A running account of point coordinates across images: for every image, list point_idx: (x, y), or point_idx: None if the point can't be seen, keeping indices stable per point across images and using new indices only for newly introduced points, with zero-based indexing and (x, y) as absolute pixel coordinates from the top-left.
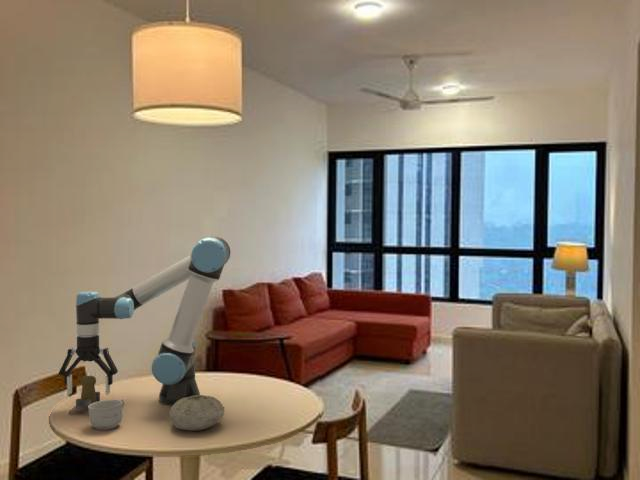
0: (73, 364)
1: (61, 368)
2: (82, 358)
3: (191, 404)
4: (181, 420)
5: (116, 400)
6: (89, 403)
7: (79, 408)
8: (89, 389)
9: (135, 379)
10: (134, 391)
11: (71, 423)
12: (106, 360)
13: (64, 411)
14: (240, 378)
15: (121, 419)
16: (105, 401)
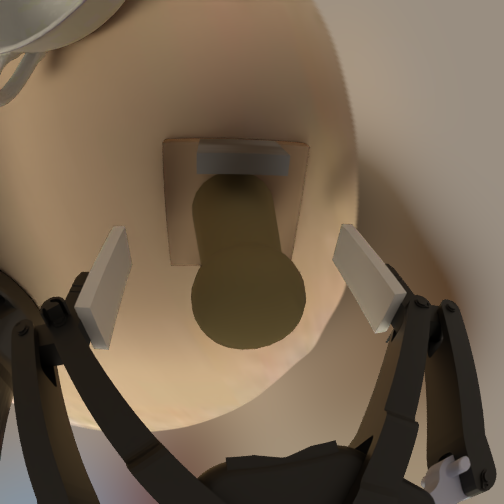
0: (412, 384)
1: (463, 333)
2: (350, 470)
3: None
4: None
5: None
6: (202, 147)
7: (258, 142)
8: (223, 235)
9: (197, 420)
10: (153, 372)
11: (255, 16)
12: (45, 446)
13: (331, 186)
14: None
15: (11, 7)
16: (44, 29)
